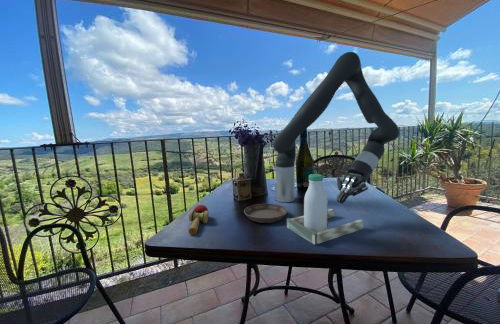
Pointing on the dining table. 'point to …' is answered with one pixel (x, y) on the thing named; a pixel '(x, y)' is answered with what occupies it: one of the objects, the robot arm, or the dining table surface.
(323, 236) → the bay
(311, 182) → the milk bottle
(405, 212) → the dining table surface
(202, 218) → the kendama
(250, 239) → the dining table surface
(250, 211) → the plant saucer
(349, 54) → the robot arm
